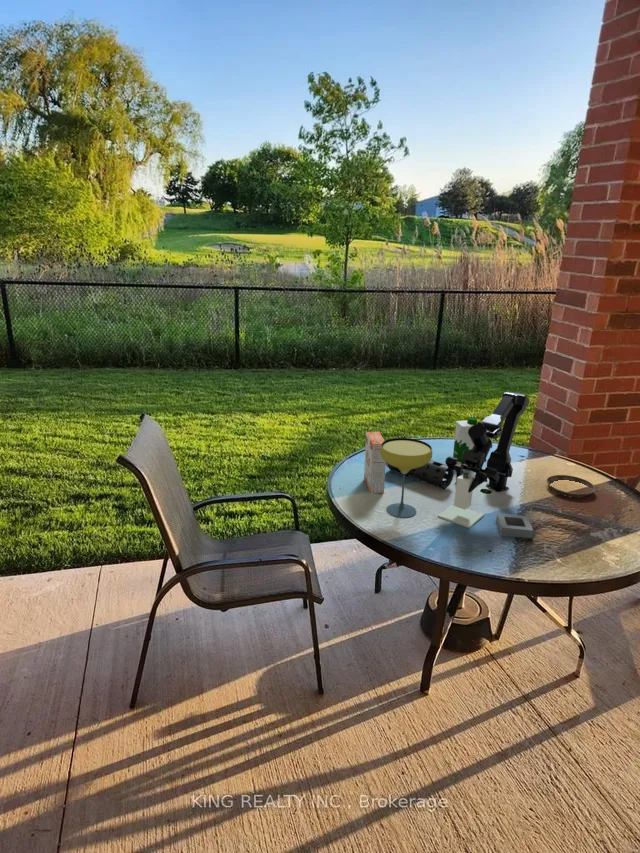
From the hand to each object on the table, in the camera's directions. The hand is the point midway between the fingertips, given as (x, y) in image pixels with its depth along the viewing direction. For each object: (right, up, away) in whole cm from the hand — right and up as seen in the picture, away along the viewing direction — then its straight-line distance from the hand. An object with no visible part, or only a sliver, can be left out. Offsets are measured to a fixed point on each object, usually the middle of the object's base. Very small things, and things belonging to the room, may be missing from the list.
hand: (462, 490), depth 182 cm
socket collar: (+16, -13, -4) cm, 21 cm away
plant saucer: (+50, -4, +27) cm, 57 cm away
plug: (+1, -6, +3) cm, 7 cm away
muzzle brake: (-10, 0, +34) cm, 36 cm away
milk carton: (+15, +6, +55) cm, 57 cm away
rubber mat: (+1, -10, +4) cm, 11 cm away
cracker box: (-28, -2, +27) cm, 39 cm away
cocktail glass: (-20, -9, +8) cm, 23 cm away
